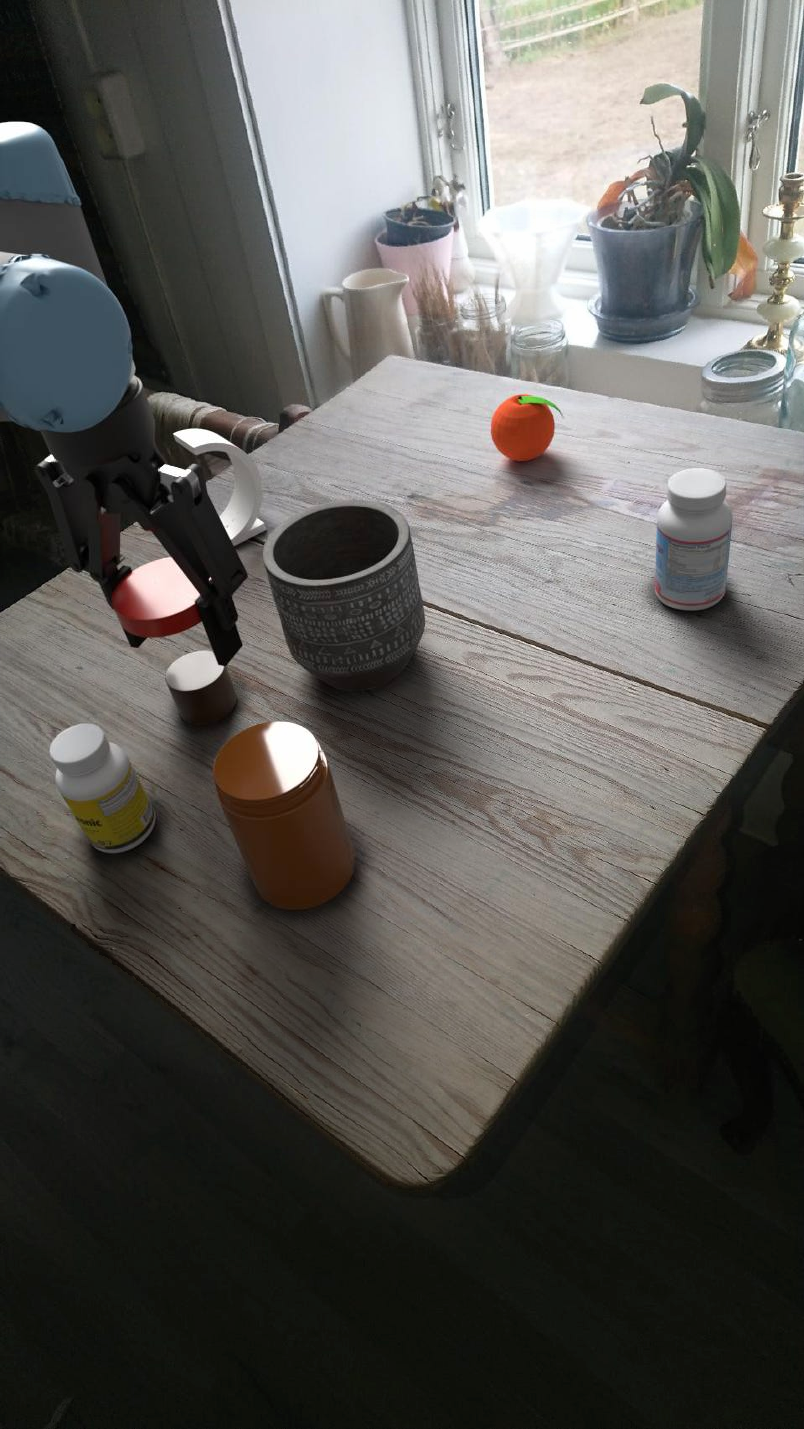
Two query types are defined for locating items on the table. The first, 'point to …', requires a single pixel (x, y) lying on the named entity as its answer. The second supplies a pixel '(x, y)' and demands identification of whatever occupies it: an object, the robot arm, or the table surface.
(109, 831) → the supplement bottle
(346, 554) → the planter
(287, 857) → the jam jar
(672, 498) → the pill bottle
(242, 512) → the headphone stand
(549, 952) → the table surface
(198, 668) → the stand
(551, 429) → the clementine
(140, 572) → the jam lid
